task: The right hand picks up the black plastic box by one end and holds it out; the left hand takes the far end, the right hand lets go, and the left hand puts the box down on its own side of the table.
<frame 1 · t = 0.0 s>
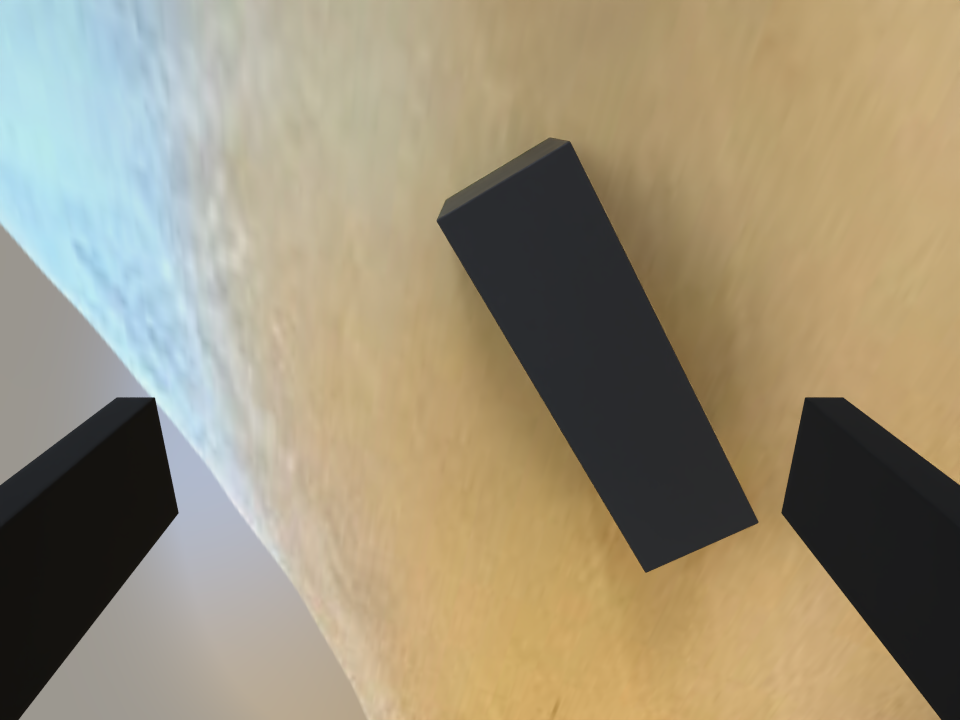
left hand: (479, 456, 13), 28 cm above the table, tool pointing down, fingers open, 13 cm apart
box: (587, 335, 41), on the table
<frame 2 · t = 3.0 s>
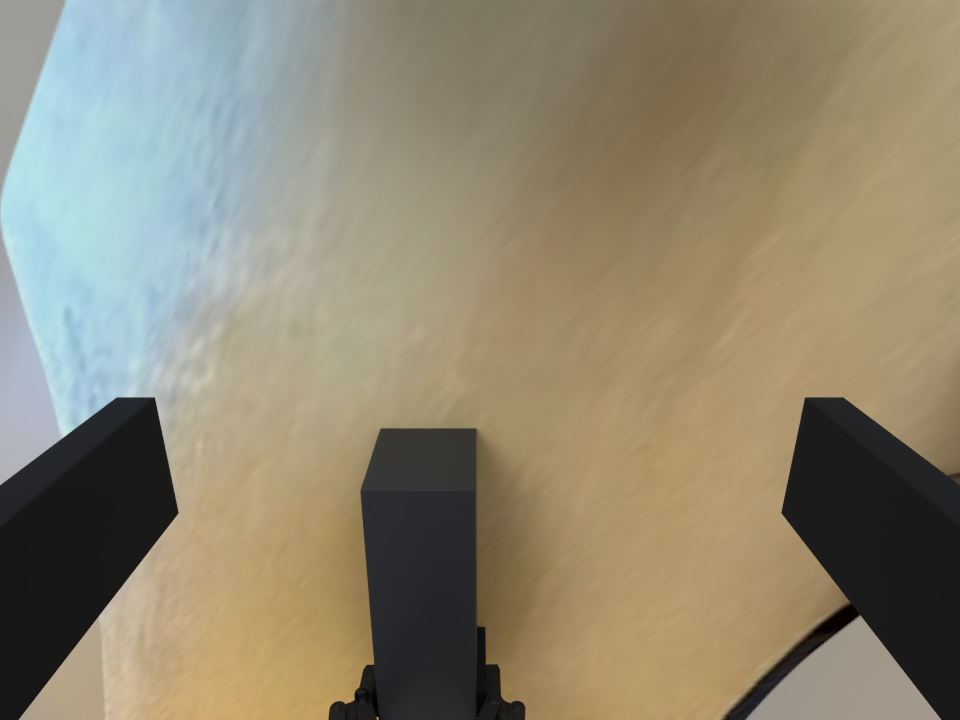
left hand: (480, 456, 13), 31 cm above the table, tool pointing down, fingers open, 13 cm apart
box: (432, 559, 52), on the table, touching right hand
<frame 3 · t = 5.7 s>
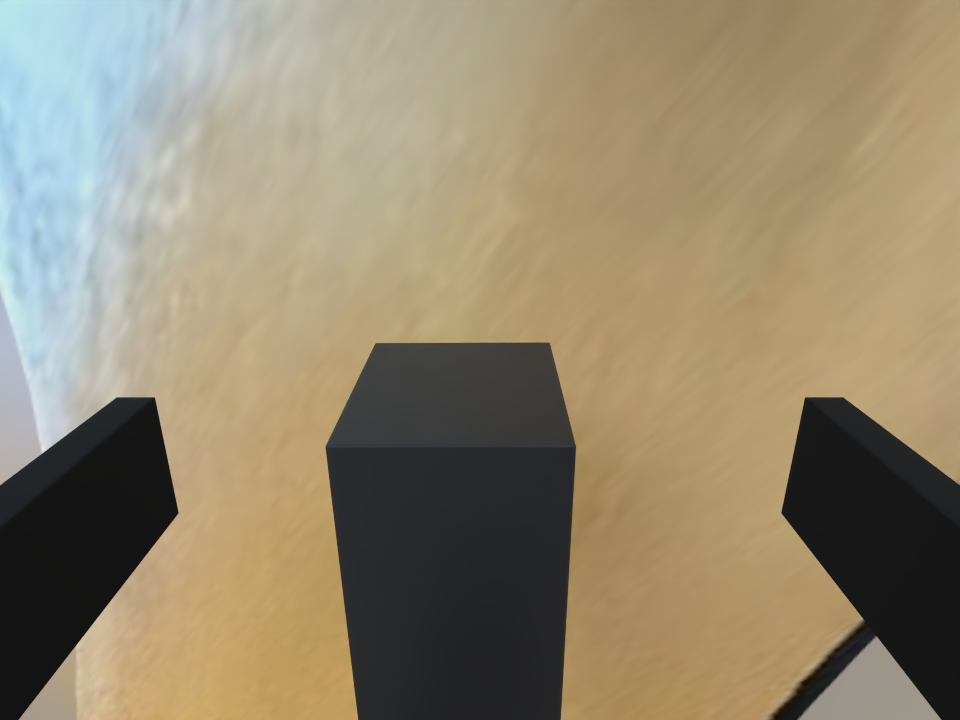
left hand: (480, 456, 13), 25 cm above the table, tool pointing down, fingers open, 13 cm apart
box: (467, 574, 31), point 11 cm above the table, touching right hand
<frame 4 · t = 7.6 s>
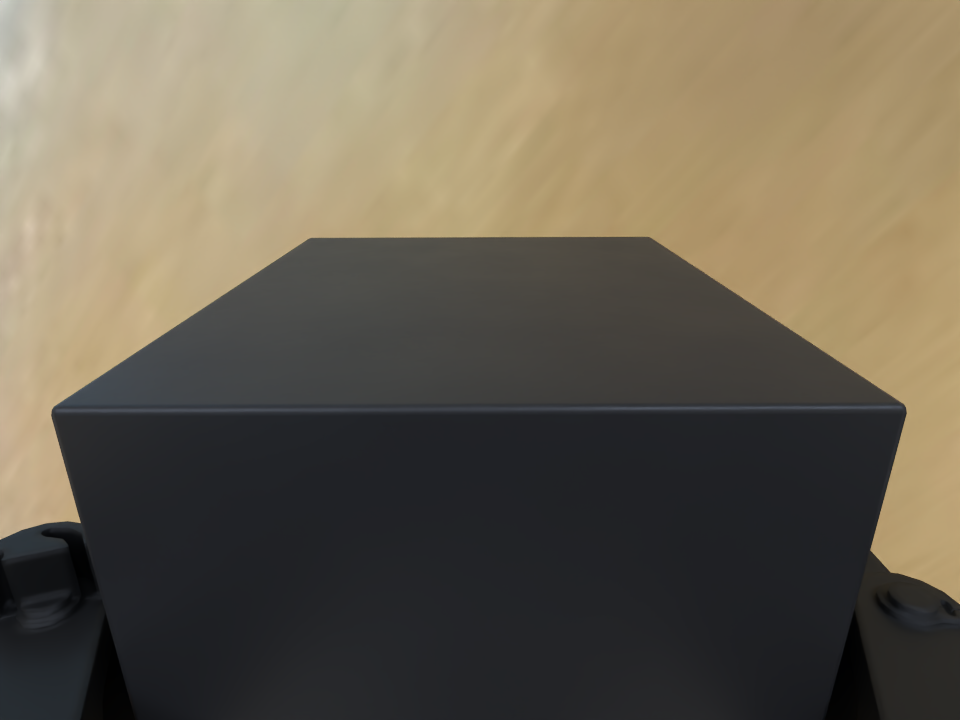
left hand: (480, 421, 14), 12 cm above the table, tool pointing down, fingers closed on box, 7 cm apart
box: (481, 671, 18), point 11 cm above the table, touching left hand, right hand
when the right hand's fingers open (12 cm above the table, at t = 8.5 s): box stays where it is, held by the left hand.
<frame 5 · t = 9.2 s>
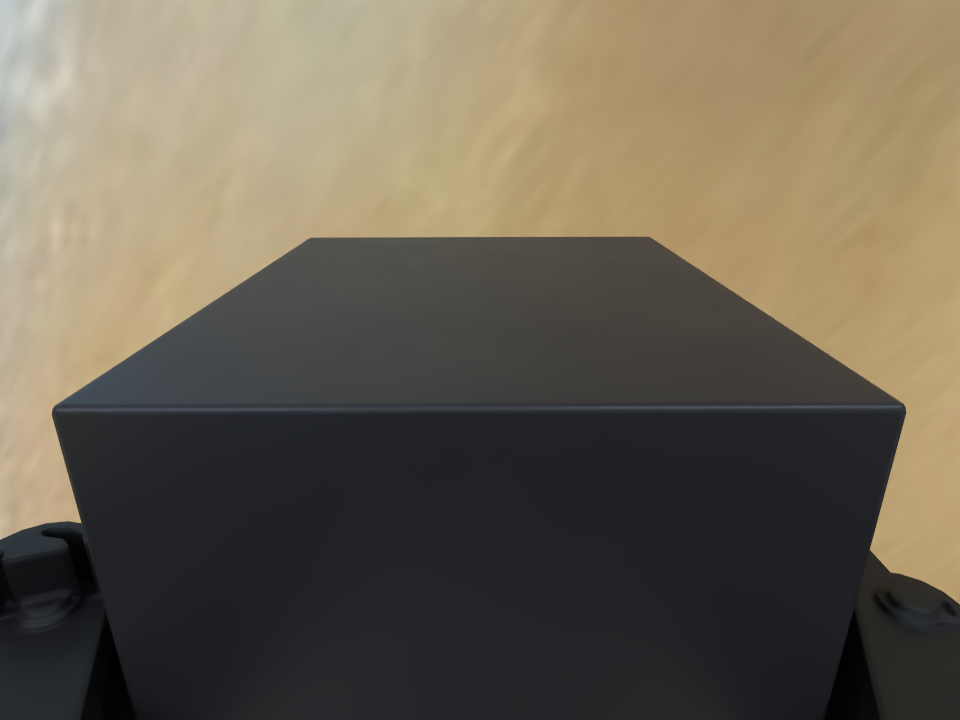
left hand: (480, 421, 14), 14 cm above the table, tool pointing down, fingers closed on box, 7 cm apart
box: (481, 671, 18), point 13 cm above the table, touching left hand
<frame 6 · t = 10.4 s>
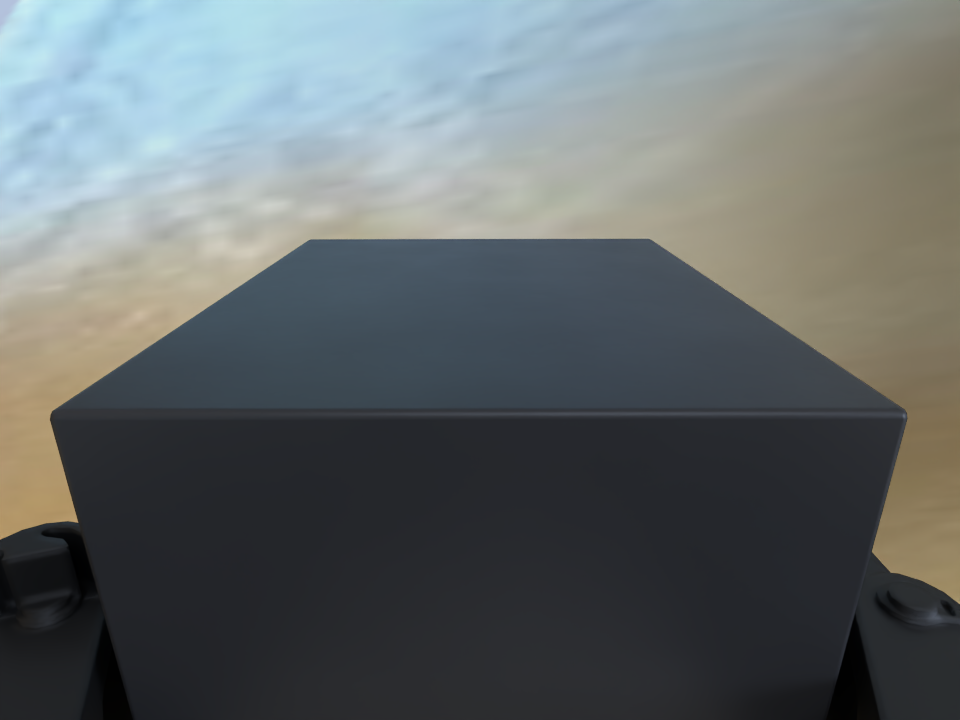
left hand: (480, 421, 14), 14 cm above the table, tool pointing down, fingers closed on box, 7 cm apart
box: (480, 673, 18), point 14 cm above the table, touching left hand
when the left hand's fingers open (2 cm above the table, at t = 13.1 s): box drops 1 cm, on the table.
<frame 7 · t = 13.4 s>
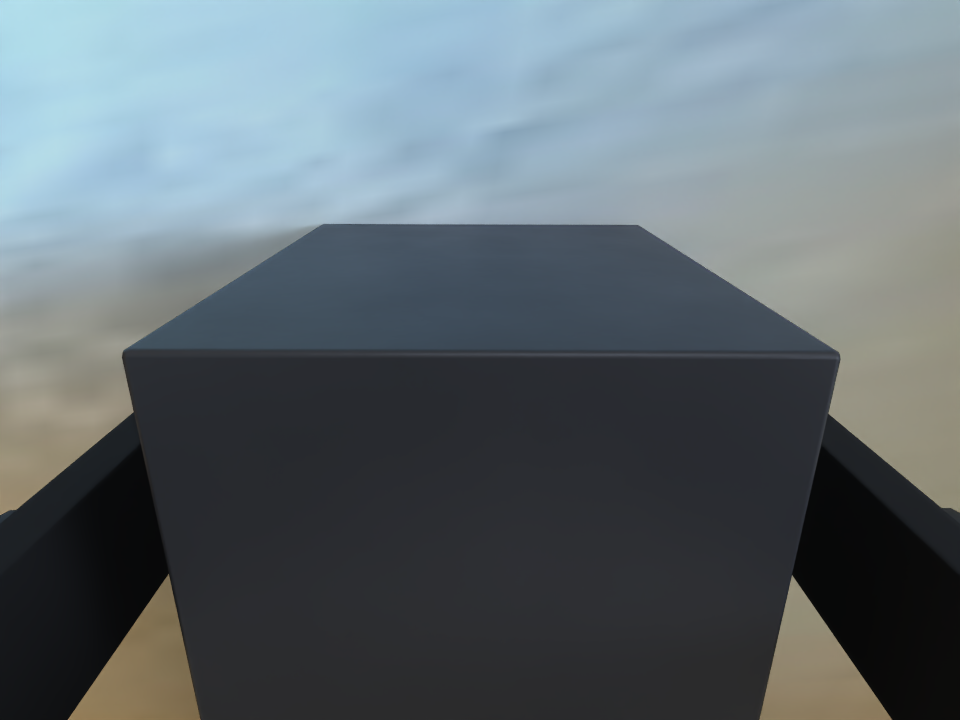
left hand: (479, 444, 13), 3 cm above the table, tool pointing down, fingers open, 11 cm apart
box: (479, 637, 19), on the table
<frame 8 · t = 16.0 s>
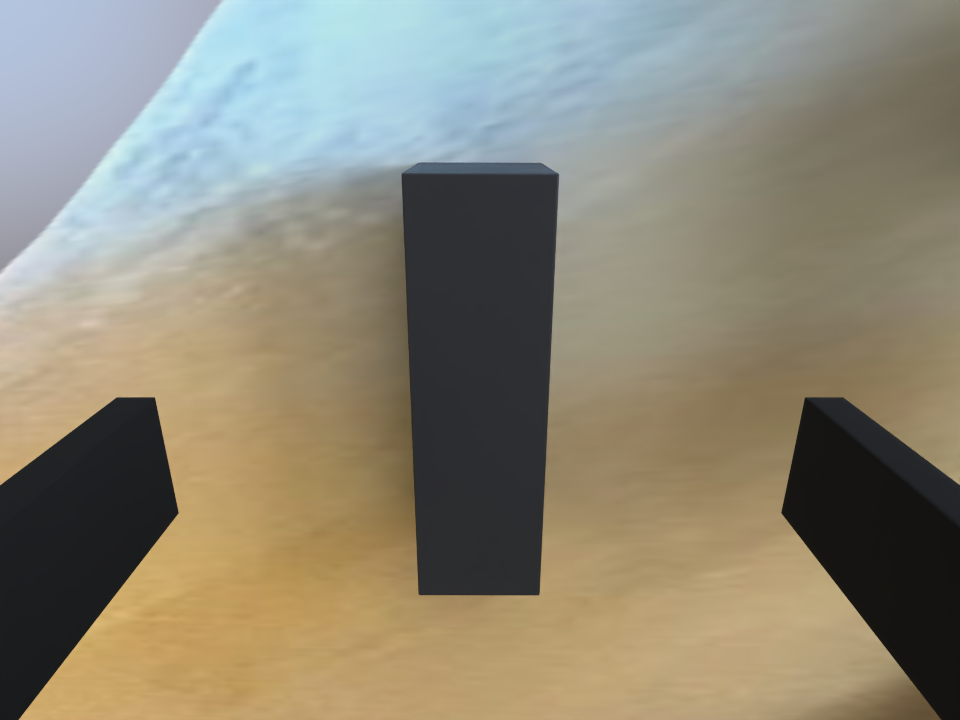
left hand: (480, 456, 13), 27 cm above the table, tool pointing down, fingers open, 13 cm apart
box: (479, 356, 41), on the table
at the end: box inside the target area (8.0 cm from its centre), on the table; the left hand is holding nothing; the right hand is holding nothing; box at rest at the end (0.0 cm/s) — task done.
